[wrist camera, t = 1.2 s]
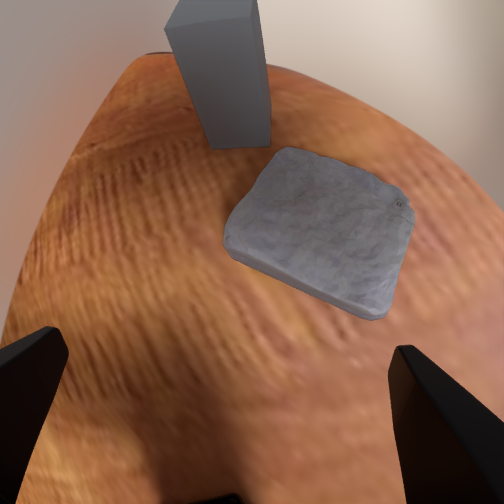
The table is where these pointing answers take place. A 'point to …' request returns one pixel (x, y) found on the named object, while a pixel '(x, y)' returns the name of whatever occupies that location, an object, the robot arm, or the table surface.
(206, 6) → the pillar
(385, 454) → the table surface
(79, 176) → the table surface
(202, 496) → the table surface
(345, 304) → the stone block
